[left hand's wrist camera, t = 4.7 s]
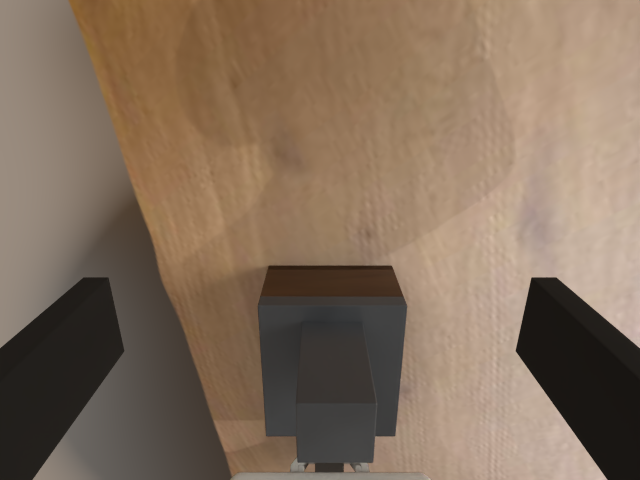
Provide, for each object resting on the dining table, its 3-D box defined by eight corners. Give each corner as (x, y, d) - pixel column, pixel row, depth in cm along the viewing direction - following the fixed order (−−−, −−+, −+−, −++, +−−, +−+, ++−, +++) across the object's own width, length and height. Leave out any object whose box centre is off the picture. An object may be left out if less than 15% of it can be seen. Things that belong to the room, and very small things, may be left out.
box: (268, 265, 40) (260, 296, 34) (391, 265, 40) (403, 296, 34) (277, 447, 48) (272, 495, 43) (378, 447, 48) (386, 496, 43)
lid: (263, 285, 36) (236, 384, 24) (399, 285, 36) (437, 384, 24) (270, 408, 41) (250, 538, 29) (389, 408, 41) (416, 538, 29)
